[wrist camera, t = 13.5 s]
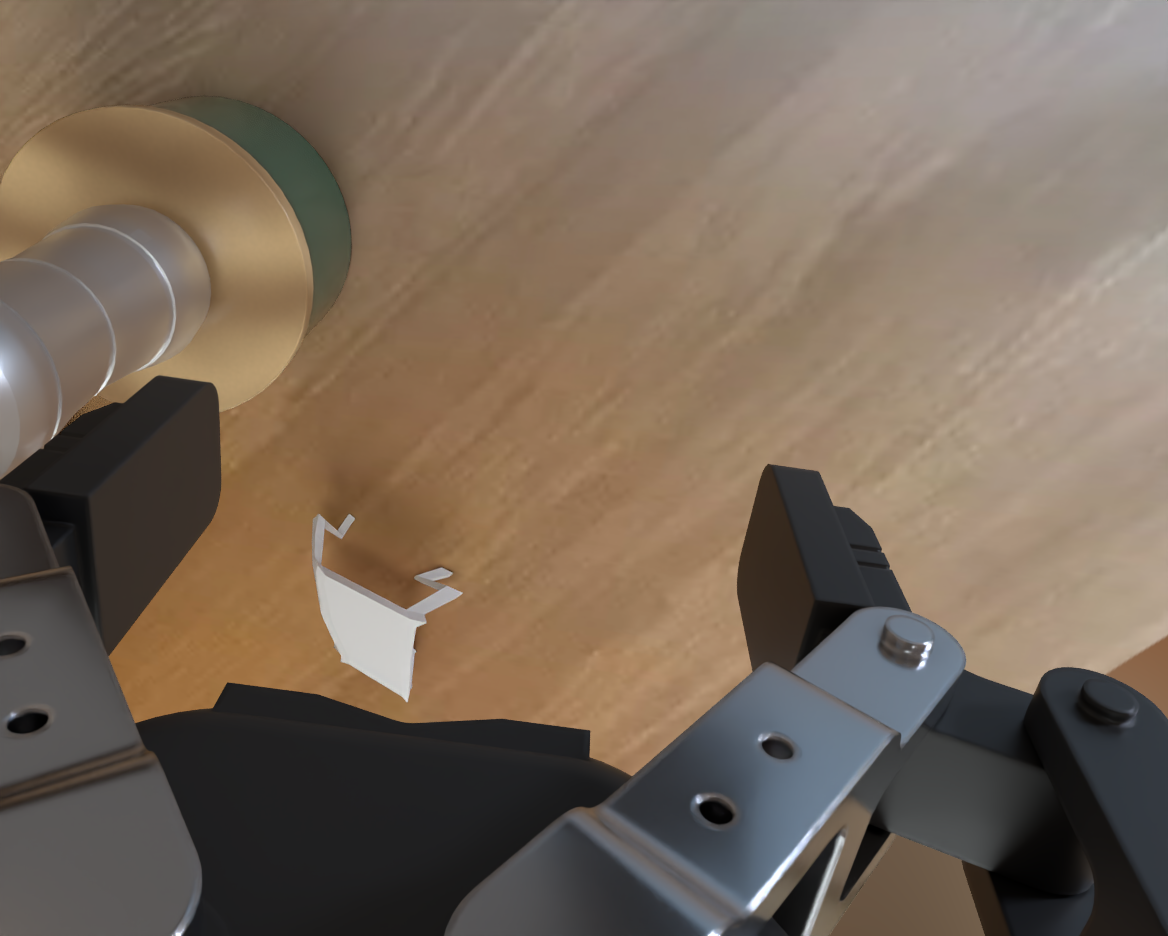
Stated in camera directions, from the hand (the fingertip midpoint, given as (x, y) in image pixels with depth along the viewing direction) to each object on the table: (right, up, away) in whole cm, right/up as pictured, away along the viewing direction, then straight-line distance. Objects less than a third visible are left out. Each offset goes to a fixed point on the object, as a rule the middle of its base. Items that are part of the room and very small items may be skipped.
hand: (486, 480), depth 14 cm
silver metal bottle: (-17, +9, +28) cm, 34 cm away
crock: (-17, +13, +36) cm, 41 cm away
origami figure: (-11, -6, +45) cm, 46 cm away
